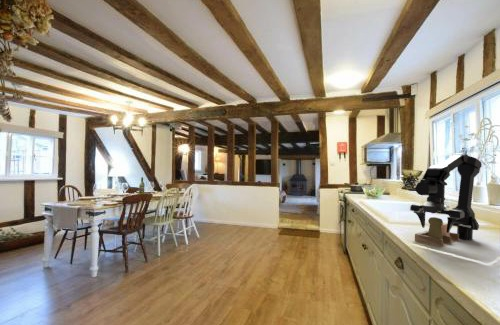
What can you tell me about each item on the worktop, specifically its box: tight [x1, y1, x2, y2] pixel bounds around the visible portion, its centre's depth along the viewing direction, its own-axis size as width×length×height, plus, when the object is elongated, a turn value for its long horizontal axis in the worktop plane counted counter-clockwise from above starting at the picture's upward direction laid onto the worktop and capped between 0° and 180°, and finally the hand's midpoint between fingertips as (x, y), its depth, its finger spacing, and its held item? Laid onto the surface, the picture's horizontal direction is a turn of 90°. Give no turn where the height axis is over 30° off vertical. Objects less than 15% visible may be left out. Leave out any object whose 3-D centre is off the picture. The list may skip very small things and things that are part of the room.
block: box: [441, 223, 451, 236], centre depth 115 cm, size 5×5×7 cm
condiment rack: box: [414, 229, 460, 248], centre depth 113 cm, size 20×10×4 cm, turn 124°
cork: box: [427, 216, 444, 239], centre depth 110 cm, size 6×6×11 cm
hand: (435, 230), depth 110 cm, fingers open, 9 cm apart
